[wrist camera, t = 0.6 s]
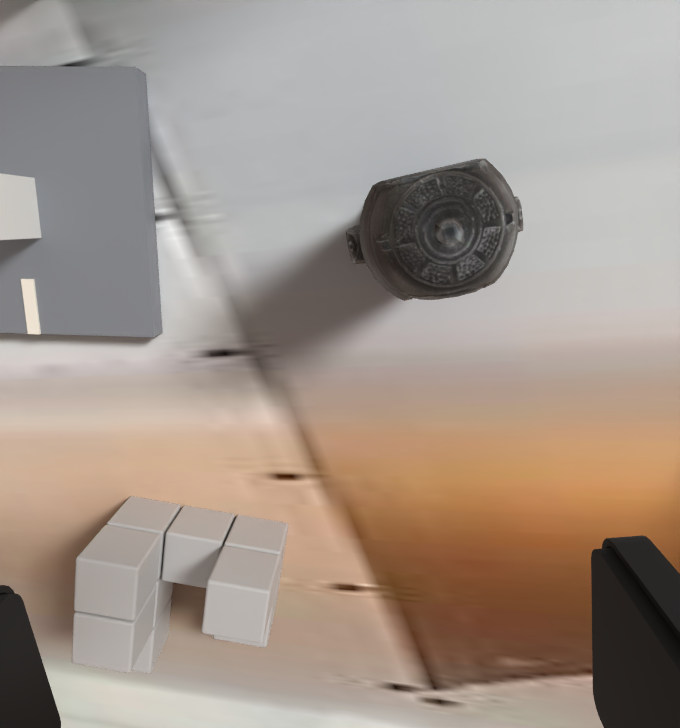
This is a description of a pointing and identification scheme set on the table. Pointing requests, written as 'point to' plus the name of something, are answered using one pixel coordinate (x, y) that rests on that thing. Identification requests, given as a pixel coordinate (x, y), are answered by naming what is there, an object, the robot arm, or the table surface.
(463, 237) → the toy
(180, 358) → the table surface
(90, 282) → the grey flat block
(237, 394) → the table surface
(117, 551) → the puzzle cube
